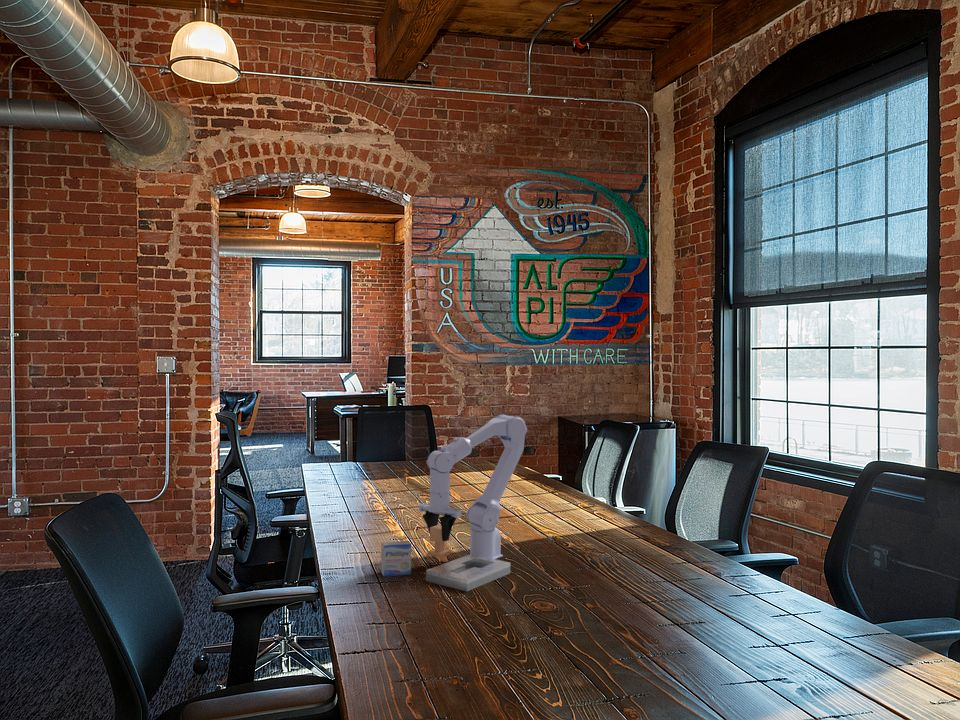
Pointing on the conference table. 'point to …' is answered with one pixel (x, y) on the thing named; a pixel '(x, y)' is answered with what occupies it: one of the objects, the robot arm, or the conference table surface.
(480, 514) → the robot arm
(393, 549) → the medicine box
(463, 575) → the keyhole plate
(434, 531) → the headed stud
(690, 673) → the conference table surface
